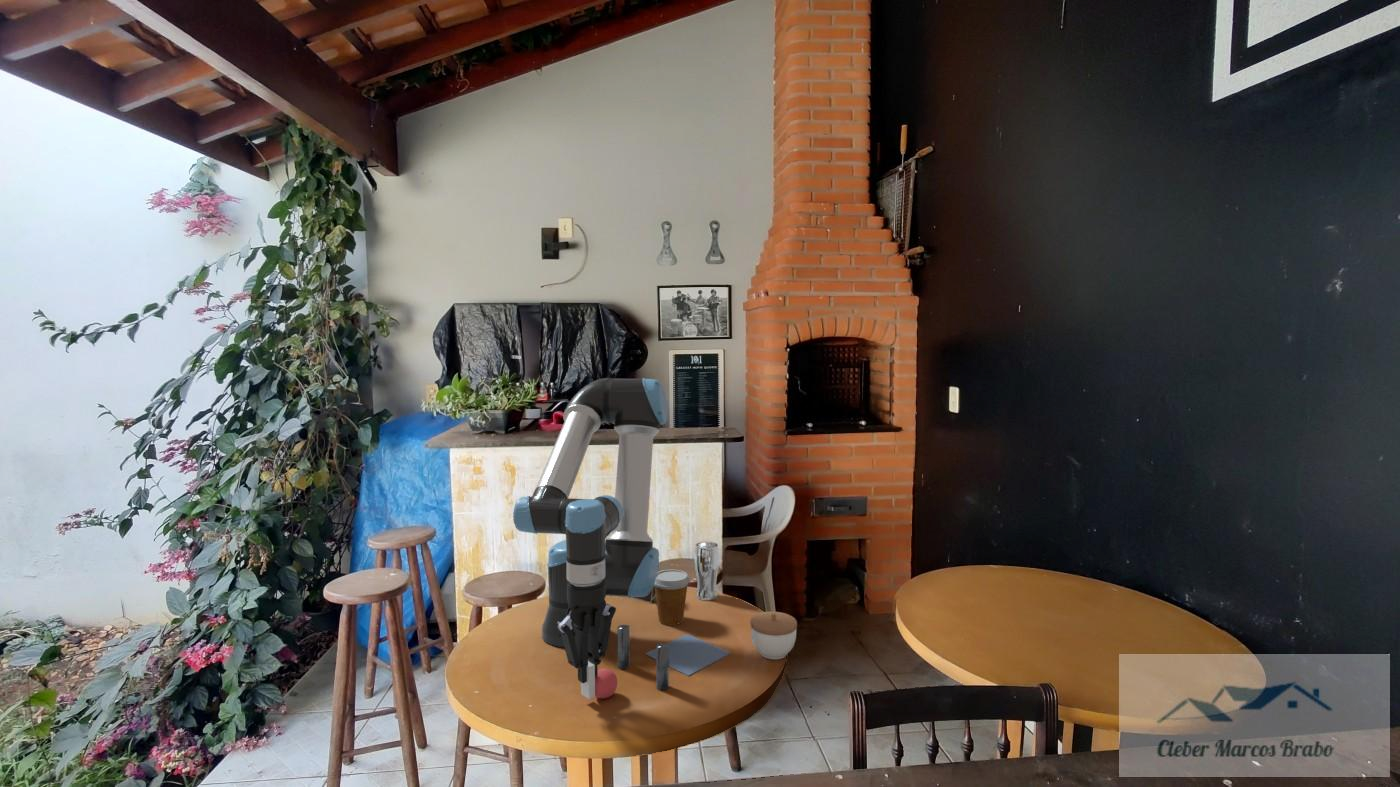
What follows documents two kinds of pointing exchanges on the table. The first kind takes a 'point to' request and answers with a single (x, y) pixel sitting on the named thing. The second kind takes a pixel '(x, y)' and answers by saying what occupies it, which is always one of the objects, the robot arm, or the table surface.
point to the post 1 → (623, 647)
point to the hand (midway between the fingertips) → (588, 695)
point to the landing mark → (691, 654)
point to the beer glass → (706, 569)
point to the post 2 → (662, 666)
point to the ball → (605, 683)
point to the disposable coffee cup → (671, 595)
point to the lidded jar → (773, 634)
